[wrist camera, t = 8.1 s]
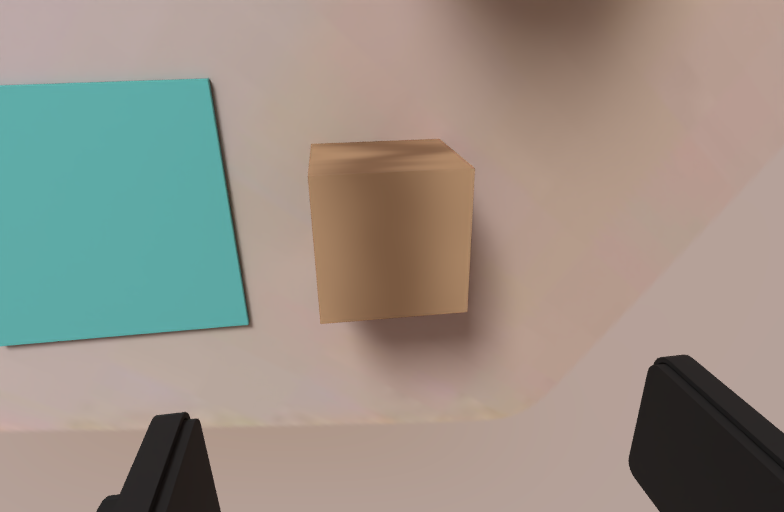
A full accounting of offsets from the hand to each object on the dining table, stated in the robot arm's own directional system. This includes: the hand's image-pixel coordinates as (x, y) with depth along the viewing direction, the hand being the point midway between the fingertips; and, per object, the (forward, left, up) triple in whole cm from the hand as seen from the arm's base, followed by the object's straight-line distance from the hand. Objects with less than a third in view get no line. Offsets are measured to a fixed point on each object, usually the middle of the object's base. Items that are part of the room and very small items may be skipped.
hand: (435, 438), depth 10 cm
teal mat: (+13, 0, -15) cm, 20 cm away
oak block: (0, 0, -16) cm, 16 cm away
